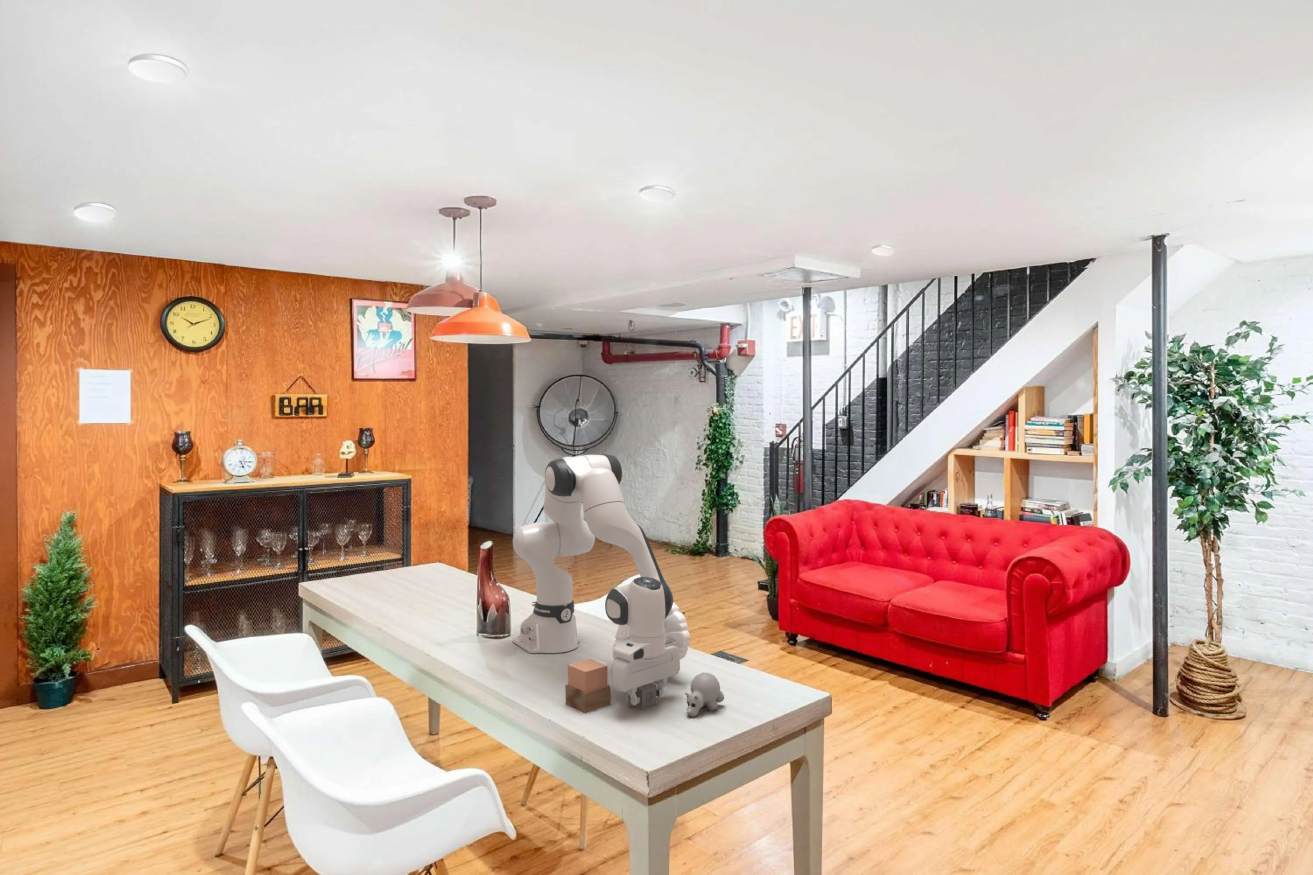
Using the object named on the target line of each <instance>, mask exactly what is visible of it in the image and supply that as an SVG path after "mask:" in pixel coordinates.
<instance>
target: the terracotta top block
mask: <svg viewBox="0 0 1313 875" xmlns="http://www.w3.org/2000/svg"><path fill="white" fill-rule="evenodd" d="M567 668H568V669H567V685H569V686H572V687H574V688H576V689H579V690H581V691H583V692H588V691H591V690H595V689H598V688H601V687H605V686H608V685H609V684H608V680H609V679H608V677H609V676H608V675H609V674H608V673H609V672H608V670H609V669H608V665H607V664H604V663H602V662H599V661H596V660H594V659H591V658H590V659H585V660H582V661H578V662H575V663H570V664H568V665H567Z"/></svg>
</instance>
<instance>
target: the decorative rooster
mask: <svg viewBox="0 0 1313 875" xmlns="http://www.w3.org/2000/svg"><path fill="white" fill-rule="evenodd" d="M630 583H631V582H630ZM630 583H628V584H630ZM688 628H689V626H688V623H687V619H686V616H684V614H683V613H682V612H681V611H680V608H679V606H678V605H677V604H676V603H675V602H674V601H673V606H672V609H671V611H670V612H669V614H668V615H667V617H666V618H665V619H664V629H665V639H668V638H674V639H675V640H676V641H677V643H678V652H679V658H680V660H683V659H684V658H685V657H686V655H687V654H688V650H689V648H688V647H690V643H691V642H690V640H691V634H690V632H689V630H688ZM629 636H630V626H629V625H618V628H617V631H616V634H615V636H614V637H615V640H614V642H613V647H612V658H613V661H614V660H615V658H616V656H614V654H613V650H614V648H615V647H616V646H617V645H619V644H620V643H622V642H623V641H624V640H625V639H626V638H628V637H629Z"/></svg>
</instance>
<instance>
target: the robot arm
mask: <svg viewBox="0 0 1313 875" xmlns="http://www.w3.org/2000/svg"><path fill="white" fill-rule="evenodd" d="M622 478H623V468H622V465H621V462H620V461H619V460H618V457H616V456H615V455H613V454H605V453H603V454H581V455H576V456H563V457H561V458H556V459H553V460H551V461H549V462H548V464H547V465H546V468H545V471H544V479H545V480H544V481H545V486H546V493H545V496H544V502H543V510H544V514H545V515H546V516H547V517H548V518H549V519H550V520H551V521H546V522H545V521H544V522H541V521H540V522H533V523H528V524H524V525H521V526H518V527H517V529H516V530H515V531H514V534H513V538H512V546H513V549H514V552H515V553H516V554H517V555H518V556H519V558H521V559H522V560H524V561H525V562H526V563H527V564H528V565H529V566H530V568H531V569H532V572H533V575H534V578H535V587H536V601H532V602H531V603H532V604H531V606H532V607H533V612H532V613H531V614H530V615H529V616H528V617H527V618H526V619H524V620H523V621H522V622H521V624H520V629H519V635H516V636H515V637H513V638H512V642H513V643H514V644H516V645H517V646H518V647H520V648H522V650H525V652H528V653H530V654H540V653H541V654H561V653H566V652H571V651H573V650H575V649H577V648H578V646H579V643H580V642H581V641H580V636H578V628H577V619H576V616H575V615H574V613H575V600H574V599H573V597H574V596H573V588H574V587H573V584H574V583H573V577H572V575H571V573H570V572H568V571H567V570H566V569H563V568H561V567H559V566H557V565H556V564H555V563H556V562H555V558H562V557H574V556H575V557H576V556H579V555H582V554H586V553H589V552H590V551H591V550H592V549H593V547H594V545H595V542H596V539H598V540H600V541H602V542H604V543H607V544H610V545H614V546H618V547H619V548H622V549H624V550H625V551H627V552H628V553H629V554H630V555H631V557H632V559H633V561H634V563H635V564H634V565H635V566H636V568H637V571H638V573H639V574H638V575H639V577H636V578H634V579H633V580H632V581H631V582H630V584H629V583H628V584H626V585H622V586H617V587H615V588H612V589H610V591H609V592H608V594H607V596H606V599H605V604H604V605H605V606H604V607H605V608H604V609H605V614H606V616H607V618H608V619H609V620H610V621H611V622H612V623H613V624H615V625H618V626H619V625H629V626H630V636H629V637H628V638H626V639H625V640H624V641H623V642H622V643H620V644H619V645H617V646H616V647H615V648H614V650H613V649H612V652H613V654H614V656H616V658H615V660H614V659H613V662H612V666H611V667H612V668H611V682H612V683H611V684H612V687H613V689H615V690H617V691H619V692H622V693H625V692H627V695H628V694H629V695H630V697H631V704H632V705H637V704H639V703H640V701H639V700H640V697H638V696H636V693H635V692H636V691H637V687H640V686H643V685H646V684H649V683H652V684H653V683H655V682H657V684H656V697H657V698H659V697H662V696H664V689H665V687H666V685H667V682H668V678H670V677H672V676H676V675H678V674H679V673H680V670H681V661H680V660H681V659H680V658H679V652H678V643H677V641H676V640H675V639H674V638H668V639H665V629H664V619H665V618H666V617H667V615H668V614H669V612H670V611H671V609H672V606H673V602H674V595H673V592H672V590H671V589H670V587H669V585H668V584H667V582H666V580H665V578H664V576H663V574H662V571H661V569H660V567H659V564H658V562H657V560H656V557H655V555H654V552H653V550H652V547H651V544H650V543H649V540H648V537H647V535H646V533H645V532H644V529H643V528H642V526H641V525H639V524H637V523H636V522H635V521H634V520H633V518H632V517H631V514H630V513H629V511H628V509H627V505H626V502H625V498H624V495H623V491H622V490H621V486H620V484H621V481H622V480H623V479H622ZM582 507H583V512H584V517H585V520H584V518H583V517H582V513H581V512H582ZM613 654H612V655H613Z"/></svg>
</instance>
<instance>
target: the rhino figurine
mask: <svg viewBox="0 0 1313 875" xmlns="http://www.w3.org/2000/svg"><path fill="white" fill-rule="evenodd" d="M684 694H685V696H686V704H687V706H686V713H687V715H689V716H690V717H693V718H694V717H696V716H698V715H699V713H700V712H699V711H700V709H702V708H705V707H706V706H707V709H708V710H709V711H711V712H713V711H716V710H718V708H719V705H718V703H721V702H723V701H724V700H725V695H724V692H722V690H721V685H720V681H719V680H718V678H717V677H716V676H715V675H714V674H712V673H708V672H701V673H698V674H697V675H696V676H695V677H694V678H693V679H692V681H691V683H690V693H688V692H685V693H684Z"/></svg>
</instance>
